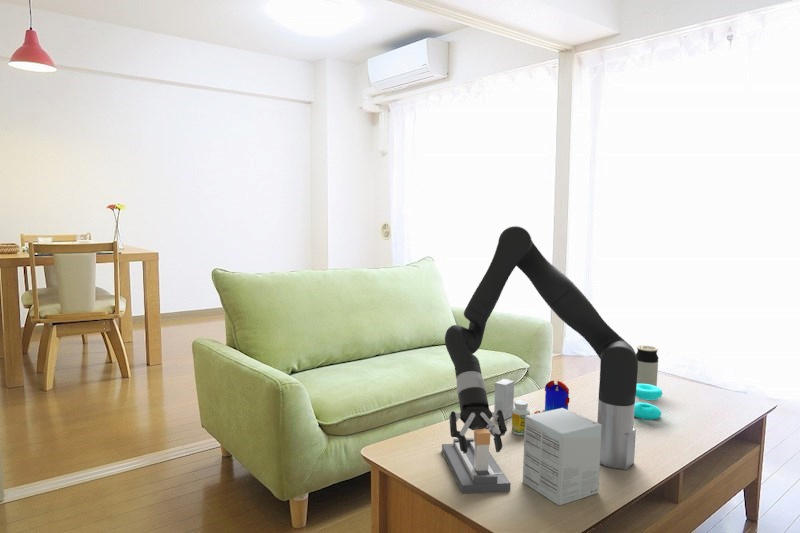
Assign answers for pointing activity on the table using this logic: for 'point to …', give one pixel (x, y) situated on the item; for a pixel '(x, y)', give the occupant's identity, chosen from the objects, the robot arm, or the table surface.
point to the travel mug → (647, 365)
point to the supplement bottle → (519, 417)
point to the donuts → (647, 409)
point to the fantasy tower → (556, 396)
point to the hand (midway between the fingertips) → (482, 451)
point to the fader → (481, 451)
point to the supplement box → (562, 455)
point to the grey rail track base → (473, 470)
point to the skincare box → (504, 397)
